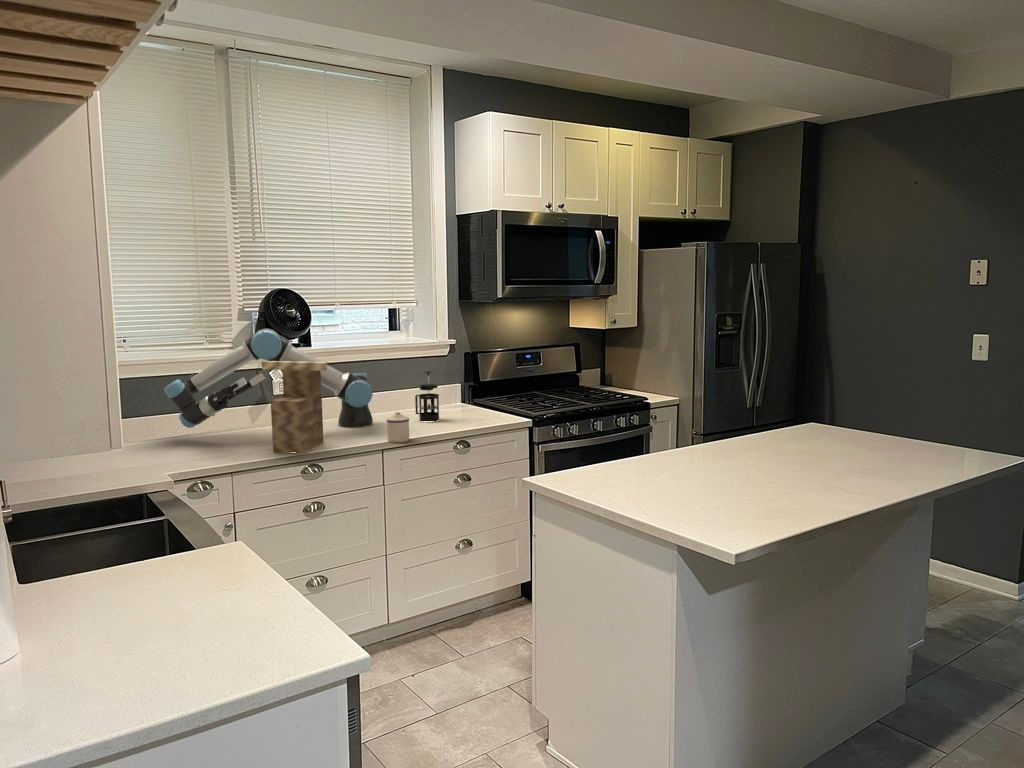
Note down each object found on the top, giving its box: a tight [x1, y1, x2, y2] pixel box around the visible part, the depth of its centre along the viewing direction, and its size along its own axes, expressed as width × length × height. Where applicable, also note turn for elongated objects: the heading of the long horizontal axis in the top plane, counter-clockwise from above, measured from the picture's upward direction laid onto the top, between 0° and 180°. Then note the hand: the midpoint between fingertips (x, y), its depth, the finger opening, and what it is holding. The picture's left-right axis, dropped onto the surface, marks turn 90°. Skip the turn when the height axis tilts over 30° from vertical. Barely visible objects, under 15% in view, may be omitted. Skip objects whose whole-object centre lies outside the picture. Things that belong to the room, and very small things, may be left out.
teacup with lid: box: [385, 411, 410, 443], centre depth 304 cm, size 12×9×12 cm
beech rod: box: [261, 360, 328, 371], centre depth 292 cm, size 26×3×3 cm, turn 79°
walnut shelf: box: [270, 370, 325, 454], centre depth 289 cm, size 12×18×30 cm, turn 169°
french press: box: [414, 370, 440, 422], centre depth 343 cm, size 12×9×23 cm
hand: (254, 378), depth 296 cm, fingers open, 13 cm apart
